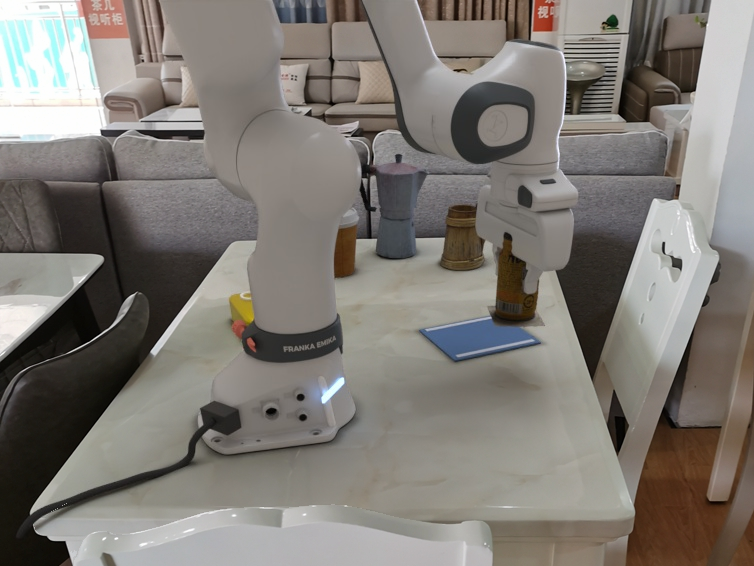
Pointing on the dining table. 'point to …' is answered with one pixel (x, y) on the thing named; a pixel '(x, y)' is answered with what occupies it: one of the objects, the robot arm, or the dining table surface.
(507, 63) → the robot arm
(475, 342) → the napkin
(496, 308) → the condiment
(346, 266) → the disposable coffee cup
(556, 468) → the dining table surface
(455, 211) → the wooden mug
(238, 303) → the element tile
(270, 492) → the dining table surface
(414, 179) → the moka pot
